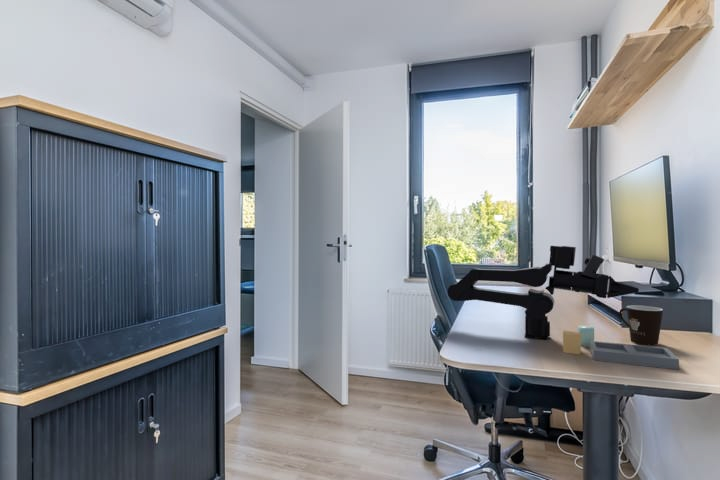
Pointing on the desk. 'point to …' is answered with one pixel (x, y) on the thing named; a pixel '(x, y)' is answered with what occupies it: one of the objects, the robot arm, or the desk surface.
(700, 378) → the desk surface
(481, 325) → the desk surface
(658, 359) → the organizer
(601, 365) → the desk surface
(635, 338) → the coffee mug
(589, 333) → the teal capsule
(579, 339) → the ochre block
